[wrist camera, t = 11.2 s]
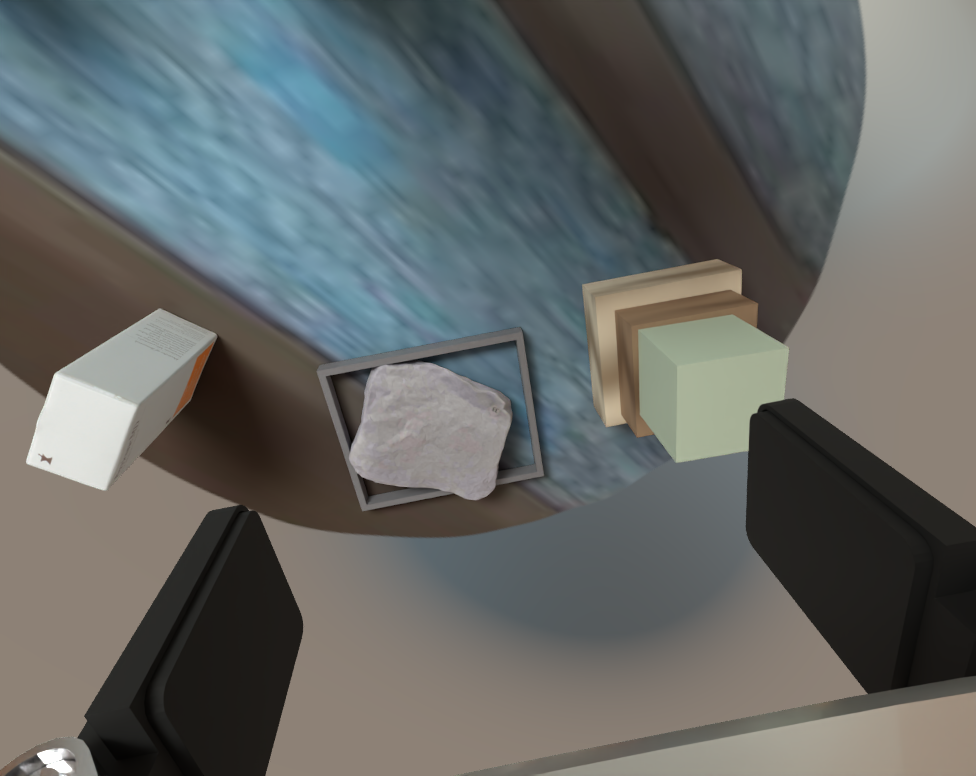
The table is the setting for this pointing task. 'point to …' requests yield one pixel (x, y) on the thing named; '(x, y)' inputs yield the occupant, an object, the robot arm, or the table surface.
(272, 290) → the table surface
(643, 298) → the beech block
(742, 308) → the walnut block
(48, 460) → the skincare box
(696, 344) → the green cube
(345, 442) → the tray rim
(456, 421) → the stone block
